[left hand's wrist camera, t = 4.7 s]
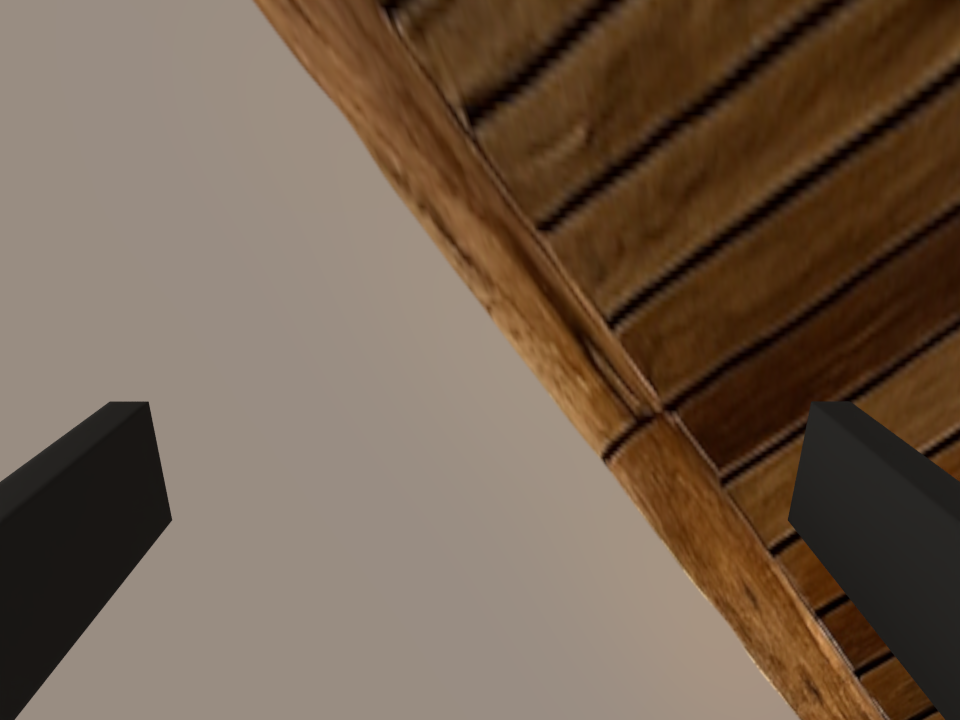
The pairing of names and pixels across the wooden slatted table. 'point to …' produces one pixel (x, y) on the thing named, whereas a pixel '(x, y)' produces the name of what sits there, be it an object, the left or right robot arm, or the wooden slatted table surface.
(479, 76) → the wooden slatted table surface
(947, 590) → the left robot arm
